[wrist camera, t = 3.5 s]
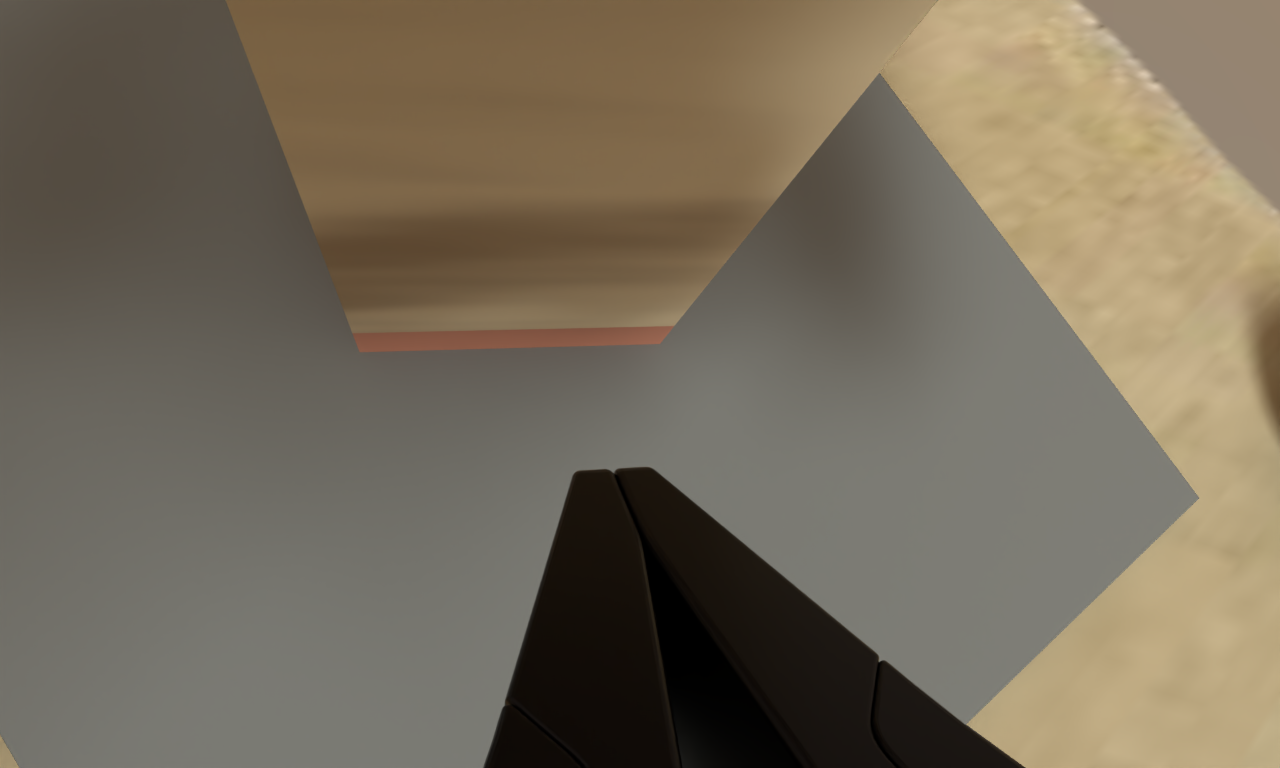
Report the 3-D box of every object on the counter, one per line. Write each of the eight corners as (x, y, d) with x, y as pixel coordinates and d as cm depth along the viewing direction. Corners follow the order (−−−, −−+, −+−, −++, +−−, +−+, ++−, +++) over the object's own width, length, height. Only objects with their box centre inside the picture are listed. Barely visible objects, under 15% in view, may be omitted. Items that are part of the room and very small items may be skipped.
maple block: (659, 344, 17) (1058, -150, 6) (359, 352, 16) (122, -273, 4) (633, 91, 19) (914, -701, 7) (355, 78, 17) (166, -928, 6)
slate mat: (1177, 500, 20) (1199, 497, 19) (350, 1294, 13) (346, 1325, 12) (574, -305, 22) (577, -328, 21) (-411, -4, 15) (-445, -28, 14)
